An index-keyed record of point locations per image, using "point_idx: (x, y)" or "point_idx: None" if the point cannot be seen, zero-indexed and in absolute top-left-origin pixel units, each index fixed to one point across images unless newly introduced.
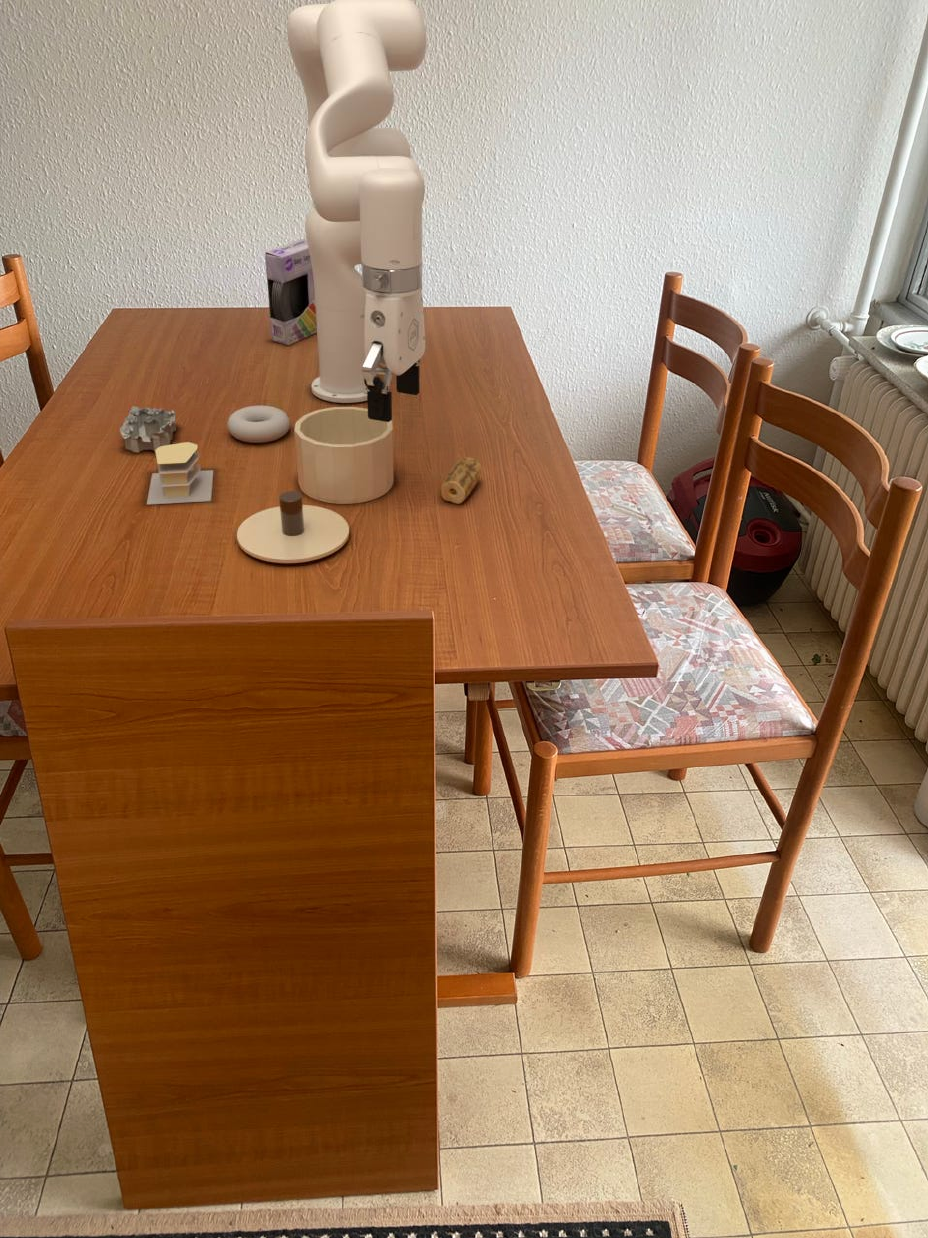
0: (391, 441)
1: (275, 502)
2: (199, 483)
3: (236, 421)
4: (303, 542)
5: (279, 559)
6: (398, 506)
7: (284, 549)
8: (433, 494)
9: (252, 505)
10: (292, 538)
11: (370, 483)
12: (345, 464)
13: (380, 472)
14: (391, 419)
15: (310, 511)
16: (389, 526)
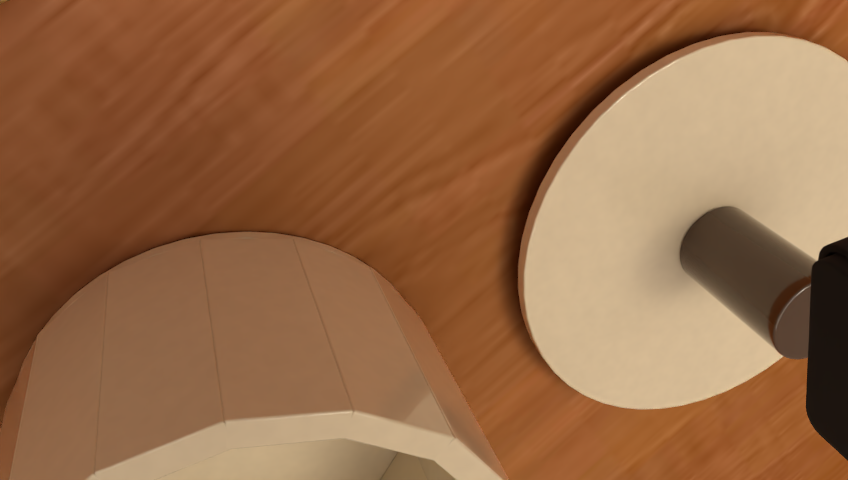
0: (120, 410)
1: (520, 445)
2: None
3: None
4: (772, 156)
5: None
6: (260, 106)
7: (832, 170)
8: (20, 51)
9: (573, 470)
10: (761, 205)
11: (316, 276)
12: (446, 392)
13: (253, 293)
14: (839, 241)
15: (573, 303)
16: (442, 11)
